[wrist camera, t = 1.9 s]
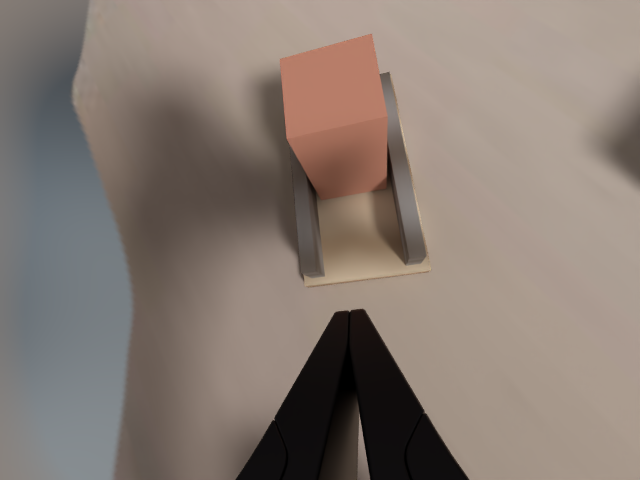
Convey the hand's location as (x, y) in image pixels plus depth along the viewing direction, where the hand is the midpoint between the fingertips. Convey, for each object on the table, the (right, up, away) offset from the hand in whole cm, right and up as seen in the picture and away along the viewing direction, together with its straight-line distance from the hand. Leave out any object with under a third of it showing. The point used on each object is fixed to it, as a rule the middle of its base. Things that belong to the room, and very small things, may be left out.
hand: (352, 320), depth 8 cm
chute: (+2, +7, +16) cm, 17 cm away
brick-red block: (+1, +8, +15) cm, 17 cm away
